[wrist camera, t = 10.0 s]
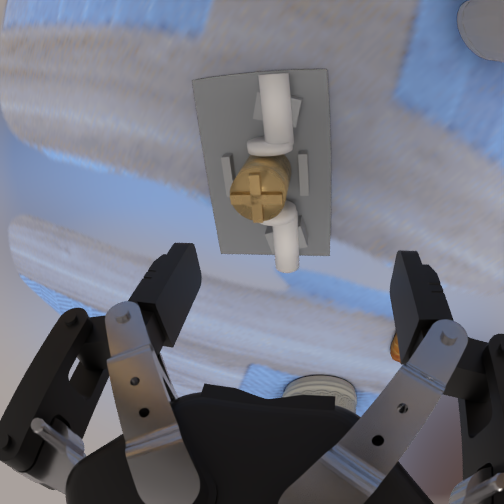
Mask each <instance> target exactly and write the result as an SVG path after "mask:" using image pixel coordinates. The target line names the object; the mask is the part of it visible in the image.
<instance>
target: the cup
mask: <svg viewBox="0 0 504 504" xmlns="http://www.w3.org/2000/svg"><path fill="white" fill-rule="evenodd" d="M457 25H458V29H459V33H460V35H461V37H462V39H463V41H464V42H465V44H466V45H467V46H468V48H469V49H470V50H471V51H472V52H473V53H475V54H476V55H477V56H479V57H481V58H483V59H486V60H493V61H500V62H503V63H504V0H469V1H466V2H465V3H463V4H462V5H461V7H460V8H459V11H458V14H457Z"/></svg>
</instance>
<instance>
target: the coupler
mask: <svg viewBox="0 0 504 504" xmlns="http://www.w3.org/2000/svg"><path fill="white" fill-rule="evenodd" d="M290 178H291V165H290V162H289V160H288V159H287V157H286V156H285V155H284V154H282V155H276V156H255V155H250V156H249V157H248V159H247V161H246V162H245V164H244V165H243V167H242V168H241V170H240V171H239V173H238V175H237V176H236V178H235V179H234V181H233V183H232V185H231V187H230V200H231V205H233V207H234V208H235V210H236V211H237V212H238V213H239V214H240V215H242V216H243V217H245V218H247V219H249V220H253V223H263V222H264V221H267V220H270V219H272V218H274V217H276V216H277V215H278V214H279V213H280V212H281V211H282V209H283V207H284V205H285V201H286V196H287V192H288V187H289V182H290Z"/></svg>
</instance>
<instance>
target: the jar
mask: <svg viewBox="0 0 504 504" xmlns="http://www.w3.org/2000/svg"><path fill="white" fill-rule="evenodd" d="M296 395H320V396H335V405H337V406H340V407H343V408H345V409H348V410H350V411H352V412H354V413H355V414H356V405H357V396H356V394H355V389H354V387H353V386H352V385H351V384H350V383H348V382H347V381H345V380H343V379H340V378H336V377H332V376H308V377H303V378H300V379H297V380H295V381H293V382H291V383H290V384H289V385H288V386H287V387H286V389H285V392H284V393H283V396H282V397H289V396H296Z"/></svg>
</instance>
